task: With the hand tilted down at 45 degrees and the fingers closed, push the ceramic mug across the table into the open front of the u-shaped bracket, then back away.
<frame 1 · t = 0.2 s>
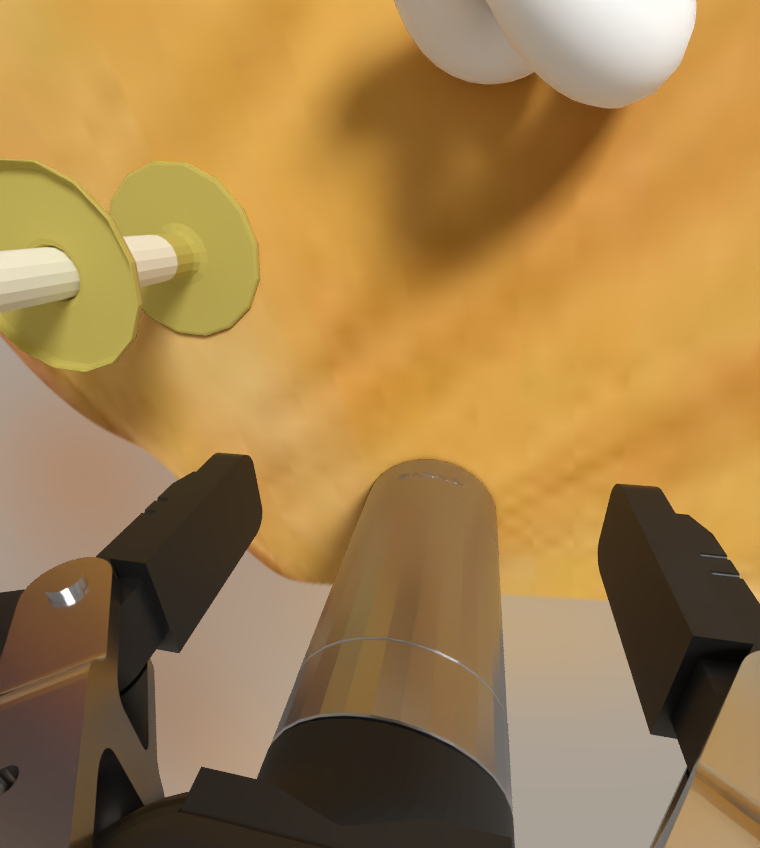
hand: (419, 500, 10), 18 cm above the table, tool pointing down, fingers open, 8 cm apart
candle: (186, 254, 27), on the table
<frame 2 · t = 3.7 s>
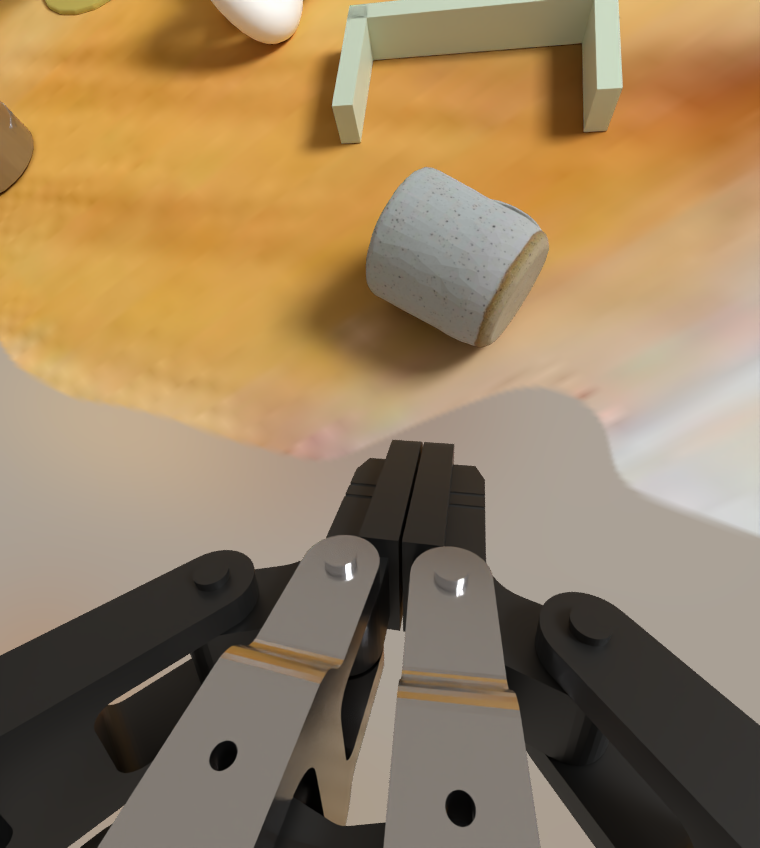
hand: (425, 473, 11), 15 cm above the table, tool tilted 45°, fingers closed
u-shaped bracket: (468, 126, 33), on the table
white knot sculpture: (272, 21, 40), on the table
ceramic mug: (463, 283, 30), on the table
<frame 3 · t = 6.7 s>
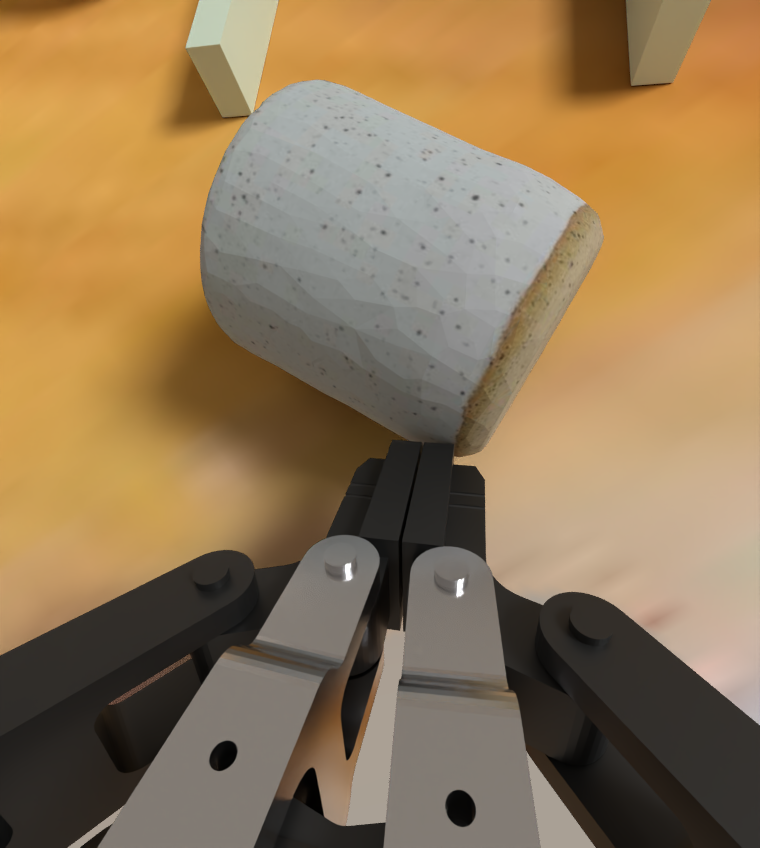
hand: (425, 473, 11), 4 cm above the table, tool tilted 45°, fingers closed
u-shaped bracket: (428, 83, 19), on the table
ceramic mug: (429, 315, 16), on the table, touching gripper
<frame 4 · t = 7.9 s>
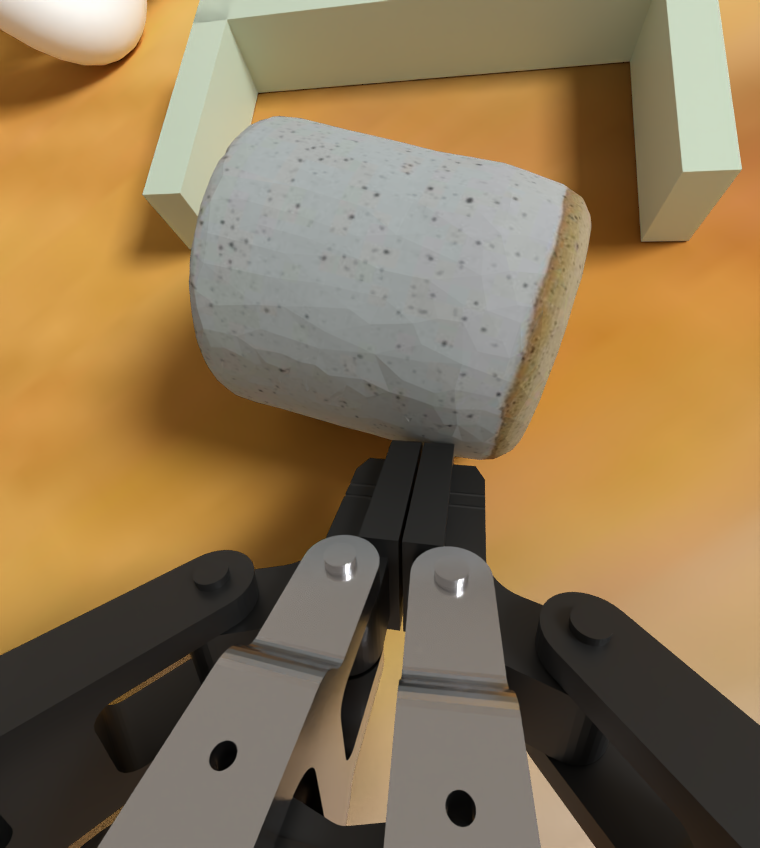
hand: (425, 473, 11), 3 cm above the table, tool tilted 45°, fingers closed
u-shaped bracket: (416, 223, 17), on the table
white knot sculpture: (110, 27, 24), on the table
ceramic mug: (415, 326, 16), on the table, touching gripper
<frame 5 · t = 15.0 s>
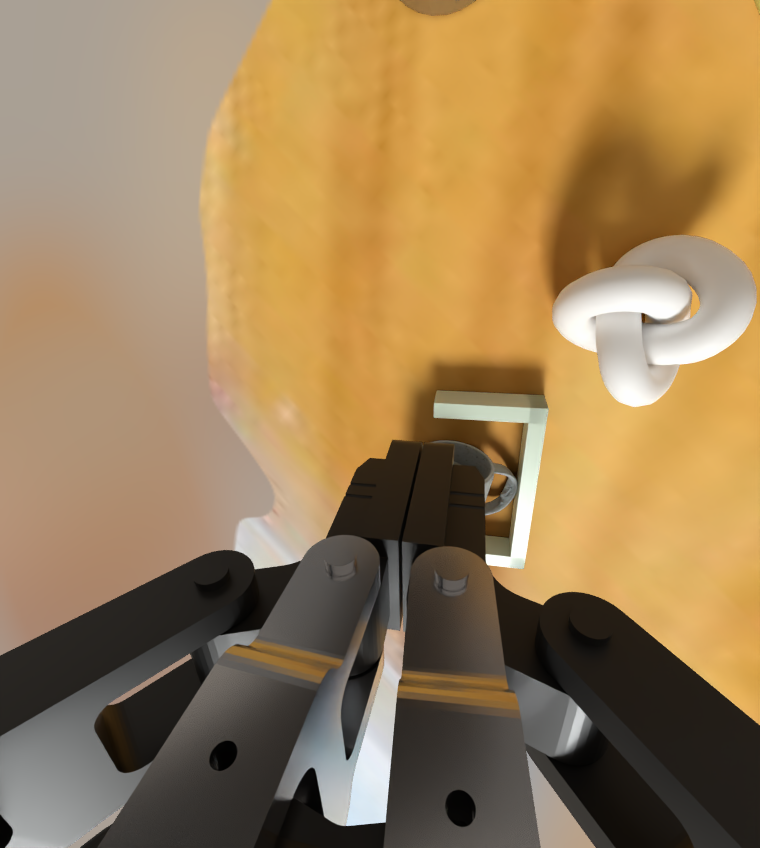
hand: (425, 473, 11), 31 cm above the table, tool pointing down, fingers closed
u-shaped bracket: (443, 472, 48), on the table
white knot sculpture: (616, 303, 37), on the table
ceramic mug: (463, 471, 47), on the table
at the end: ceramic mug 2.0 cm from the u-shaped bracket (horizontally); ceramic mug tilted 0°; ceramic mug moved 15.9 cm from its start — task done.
